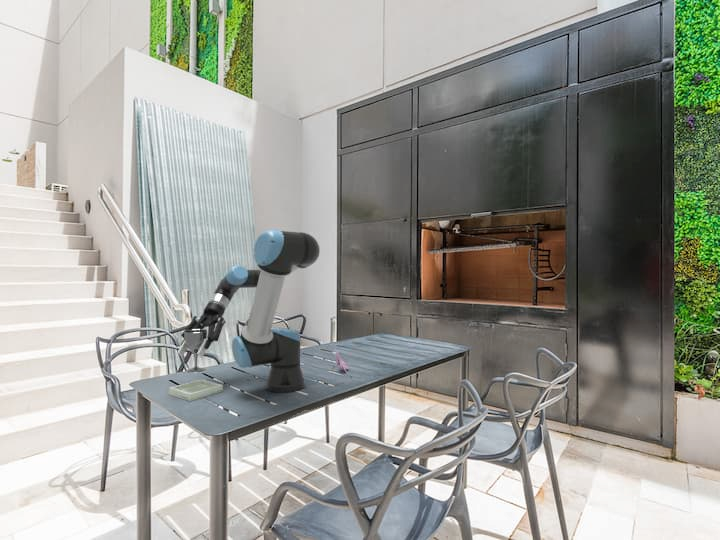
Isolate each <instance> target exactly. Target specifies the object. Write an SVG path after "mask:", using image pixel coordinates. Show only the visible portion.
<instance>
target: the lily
mask: <svg viewBox="0 0 720 540" xmlns="http://www.w3.org/2000/svg"><path fill="white" fill-rule="evenodd" d="M334 350H335V353H336V354H335V353H334V352H333V353H332V354H333V355H334V356H335V358H336V362H335V365H333V367H332V368H331V371H330V372H333V370H334V368H335V367H336V366H340V367H342V368H343V369H344V371H345V372H346V374H347V370H346V369H348V370H350V369H349V367H348V365H347V363H346V362H344V359H343V358H341V356H340V354H339V351H338V350H337V349H336V348H334Z"/></svg>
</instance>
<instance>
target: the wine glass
mask: <svg viewBox="0 0 720 540" xmlns="http://www.w3.org/2000/svg"><path fill="white" fill-rule="evenodd" d="M183 332H184V337H185V343H186V346H187V347H188V348H187V350H189V351H190V352H191V353H192V354H193V359H194V367H192V368H187V369H186V370H185V372H186V373H192V374H193V373H195V374H196V373H200V372H204V371H206V367H200V366H199V367H198V356H199V355H198V354H197V353H198V351H199V349H200V347H201V345H202V343H203V342H204V340H205V339H207V340H208V329H205V328H204V329H193V330H186V331H185V330H184V331H183Z"/></svg>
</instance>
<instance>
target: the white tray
mask: <svg viewBox="0 0 720 540" xmlns="http://www.w3.org/2000/svg"><path fill="white" fill-rule="evenodd" d="M223 391H224V384H220V383H217V382H213V381H209V380H205V379H198V380H194V381H191V382H186V383H183V384H182V383H181V384H178V385H174V386H170V387H168V395H169V396H173V397H175V398H179V399H182V400H184V401H187V402H192V401H195V400H196V401H197V400H199V399H202V398H206V397H210V396H212V395H216V394H219V393H222V392H223Z"/></svg>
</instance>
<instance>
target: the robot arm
mask: <svg viewBox="0 0 720 540" xmlns="http://www.w3.org/2000/svg"><path fill="white" fill-rule="evenodd" d="M253 252H254V253H253V258H254V260H255V262H256V264H257V268H258V269H247V268H246V267H244V266H241V265H234V266H233V267H231V269H229V270H228V271H227V272H226V274H225V275H224V276H223V277H222V279H220V281H219V284H218V285H217V287H216V289H215V291H214V293H213V294H212V296H211V297H210V299H209V301H208V302H207V304H206V305H205V308H204V309H203V313H202V315H201V316H198V317H197V315H194V316H193V317H192V320H191V322H190V323H189V324H188V326H186V328H185V329H184V331H186V330H193V329H205V328H208V329H207V339H205V340H204V342H203V343H202V345H201V347H200V349H199V351H198V353H197V354H198V356H199V358H201V359H202V358H203V357H204V355H205V353H206V351H207V350H208V349H210V346H211V345H212V343H213V342H218V341H219V339H220V335H221V333H222V330H223V327H224V325H225V324H226V319H225V318H224V317H223V316H224V314H225V311H226V310H227V308H228V306H229V304H230V302H231V301H232V298H233V297H234V296H235V294H236V293H237V292H238V290H239V289H242V288H243V289H245V288H247V289H248V288H250V289H251V288H255V293H254V297H253V301H252V305H251V310H250V313H249V318H248V321H247V325H246V326H244V327H243V328H242V330H241V331H240V336H239V335H238V336H235V337H233V339H232V342H231V349H232V356H233V359H234V362H235V363H236V364H237V366H238V367H240V368H244V369H245V368H252V367H256V366H257V367H258V366H262V365H263V366H264V365H268V364H270V368H269V369H270V370H269V373H268V378H267V379H266V382H265V388H266V390H268V391H269V392H273V393H275V392H276V393H290V392H295V391H299V390H302V389H303V388H305V385H306V383H305V382H306V381H305V378H304V376H303V371H302V368H301V333H300V332H299V330H296V329H292V328H281V327H273V328H272V326H273V323H274V320H275V315H276V313H277V312H276V311H277V308H278V305H279V300H280V297H281V295H282V290H283V286H284V283H285V278H286V277H287V276H289V275H291V273H293V272H295V271H297V270H299V269H306V268H308V267H310V266H311V265H313V264H315V262H317V260H318V259H319V256H320V245H319V242H318V241H317V239H316V238H315V237H314V236H312V235H311V234H309V233H306V232H302V231H299V232H298V231H285V230H278V229H275V230H265V231H263V232H261V233H260V234H259V236H258V237H257V238H256V241H255V243H254V248H253ZM184 331H182V333H181V337H182V338H183V340H182V342H181V343H180V346H179V349H178V351H177V353H178V355H180V356H181V357H183V356H184V354H185V353H186V351H187V350H188V347H187V346H186V343H185V337H184Z"/></svg>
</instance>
